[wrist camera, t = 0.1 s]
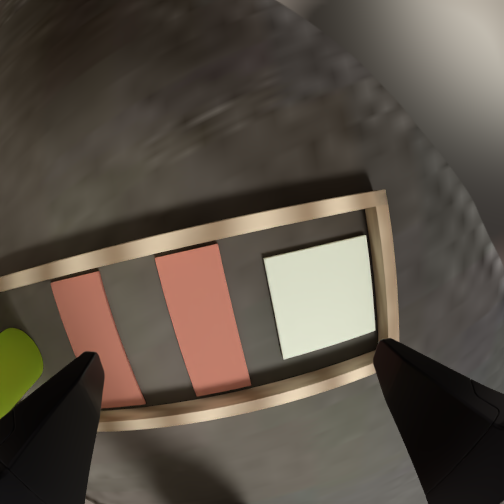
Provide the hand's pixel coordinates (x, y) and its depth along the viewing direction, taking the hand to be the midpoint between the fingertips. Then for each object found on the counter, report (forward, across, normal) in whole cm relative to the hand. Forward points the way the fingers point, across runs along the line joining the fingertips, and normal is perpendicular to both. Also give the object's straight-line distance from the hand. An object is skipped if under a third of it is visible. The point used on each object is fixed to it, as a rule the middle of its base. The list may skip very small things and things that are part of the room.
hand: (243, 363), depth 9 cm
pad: (+14, -9, +6) cm, 18 cm away
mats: (+14, +6, +9) cm, 18 cm away
